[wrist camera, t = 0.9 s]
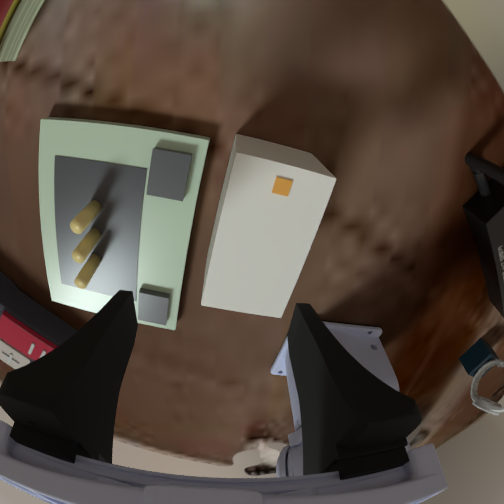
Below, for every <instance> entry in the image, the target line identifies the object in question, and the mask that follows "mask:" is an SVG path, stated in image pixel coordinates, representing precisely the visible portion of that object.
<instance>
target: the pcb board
mask: <svg viewBox="0 0 504 504" xmlns="http://www.w3.org/2000/svg"><path fill="white" fill-rule="evenodd" d="M209 142H210V137H205V136H200V135H195V134H189V133H184V132H178V131H172V130H166V129H160V128H153V127H147V126H140V125H132V124H124V123H116V122H107V121H98V120H87V119H75V118H60V117H46V118H43V119H41V124H40V140H39V202H40V218H41V230H42V240H43V249H44V257H45V264H46V271H47V277H48V283H49V288H50V294H51V299H52V301H54V302H58V303H61V304H65V305H68V306H72V307H76V308H79V309H83V310H87V311H91V312H95V313H98V312H99V311H100V310H101V309H102V308H103V306H104V305H105V304H106V303H107V302H108V301H109V300H110V299H111V298H112V297H113V296H114V295H115V294H116V293H117V292H118V291H119V290H126V291H133V297H134V304H135V310H136V316H137V322H138V323H142V324H146V325H151V326H156V327H161V328H166V329H171V330H175V329H176V324H177V317H178V310H179V303H180V296H181V289H182V283H183V276H184V270H185V264H186V258H187V252H188V246H189V240H190V235H191V229H192V224H193V218H194V213H195V208H196V203H197V198H198V193H199V188H200V183H201V178H202V173H203V169H204V164H205V159H206V155H207V150H208V146H209Z"/></svg>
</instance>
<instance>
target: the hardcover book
mask: <svg viewBox="0 0 504 504" xmlns="http://www.w3.org/2000/svg"><path fill="white" fill-rule="evenodd" d="M43 2H44V0H0V62H2V61H16V58H17V56H18V53H19V51H20V49H21V46H22V44H23V42H24V40H25V37H26V35H27V33H28V31H29V29H30V27H31V25H32V23H33V21H34V19H35V17H36V15H37V13H38V11H39V9H40V8H41V6H42V4H43Z"/></svg>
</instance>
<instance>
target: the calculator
mask: <svg viewBox="0 0 504 504" xmlns="http://www.w3.org/2000/svg"><path fill="white" fill-rule="evenodd" d="M76 332H77V330H76V329H74V328H73V327H71V326H70V325H68V324H67V323H66V322H64V321H63V320H61V319H60V318H58V317H57V316H56V315H54V314H53V313H51V312H50V311H48V310H47V309H46V308H44V307H43V306H41V305H40V304H38V303H37V302H36V301H34V300H33V299H31V298H30V297H29V296H27V295H26V294H24V293H23V292H22V291H20V290H19V289H18V288H17V287H16V285H15V284H14V283H13V282H12V281H11V280H10V279H9V278H7V277H6V276H5V275H4V274H3V273H2V272H1V271H0V359H1V360H2V361H4V362H5V363H7V364H8V365H10V366H11V367H13V368H14V369H18V368H20V367H23V366H25V365H27V364H29V363H31V362H33V361H35V360H37V359H39V358H41V357H42V356H44V355H46V354H47V353H49V352H50V351H52V350H53V349H55V348H57V347H58V346H60V345H61V344H62V343H64V342H65V341H66V340H68V339H69V338H70V337H72V336H73V335H74V334H75V333H76Z"/></svg>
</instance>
